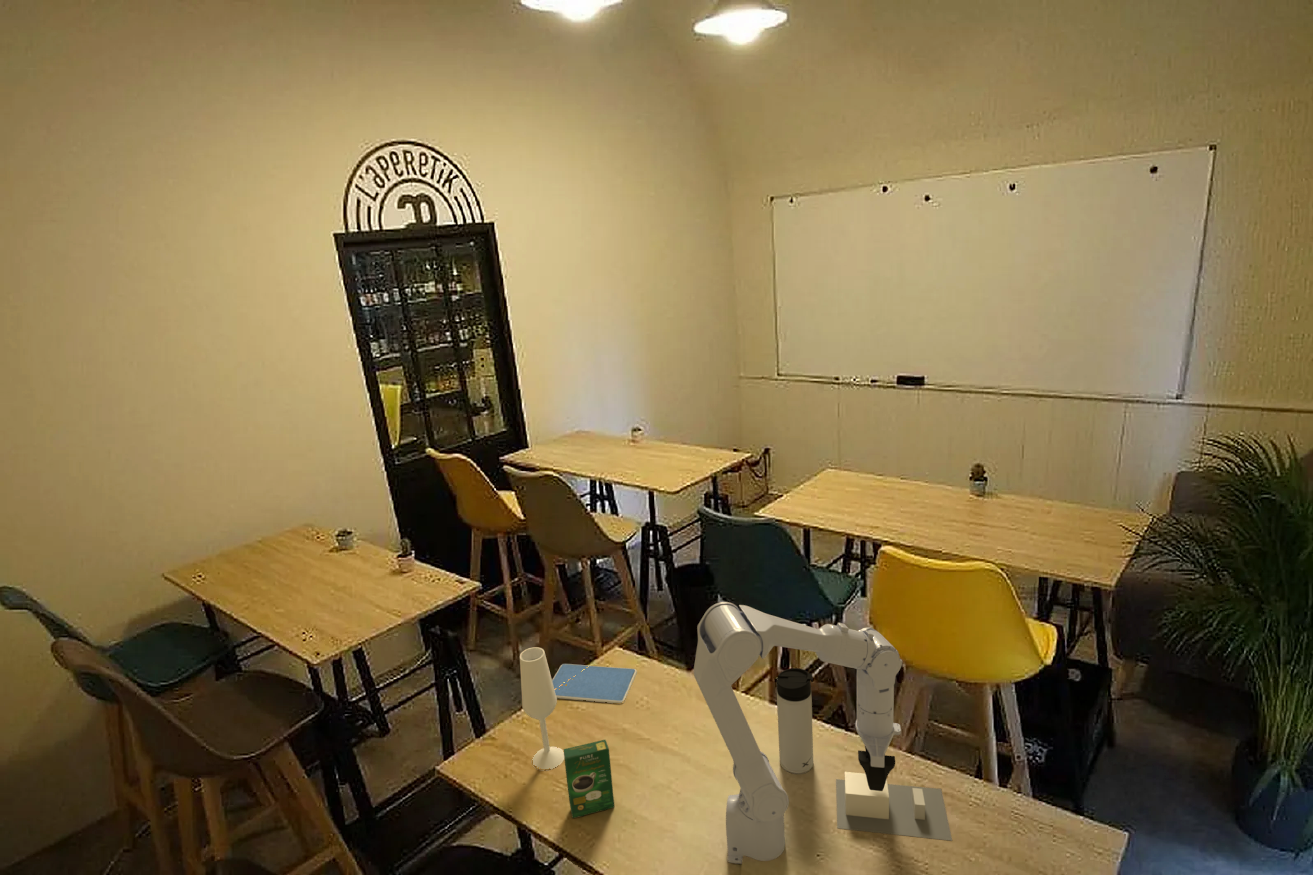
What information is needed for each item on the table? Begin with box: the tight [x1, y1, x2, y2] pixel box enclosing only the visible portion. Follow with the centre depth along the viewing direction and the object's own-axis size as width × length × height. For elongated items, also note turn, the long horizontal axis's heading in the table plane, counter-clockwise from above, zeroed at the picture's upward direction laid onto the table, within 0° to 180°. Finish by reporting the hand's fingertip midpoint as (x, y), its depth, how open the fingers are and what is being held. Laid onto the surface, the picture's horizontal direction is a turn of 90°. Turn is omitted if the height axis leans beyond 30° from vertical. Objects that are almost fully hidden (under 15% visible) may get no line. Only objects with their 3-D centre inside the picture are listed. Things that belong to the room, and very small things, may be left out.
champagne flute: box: [519, 646, 565, 770], centre depth 137 cm, size 7×7×24 cm
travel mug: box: [776, 667, 814, 775], centre depth 130 cm, size 6×7×20 cm
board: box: [835, 778, 953, 842], centre depth 120 cm, size 18×11×4 cm, turn 77°
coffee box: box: [563, 739, 615, 819], centre depth 125 cm, size 8×3×13 cm, turn 104°
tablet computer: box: [552, 663, 638, 704], centre depth 162 cm, size 19×13×1 cm, turn 76°
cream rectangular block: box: [844, 771, 889, 819], centre depth 120 cm, size 5×7×4 cm
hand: (874, 771), depth 117 cm, fingers open, 7 cm apart
